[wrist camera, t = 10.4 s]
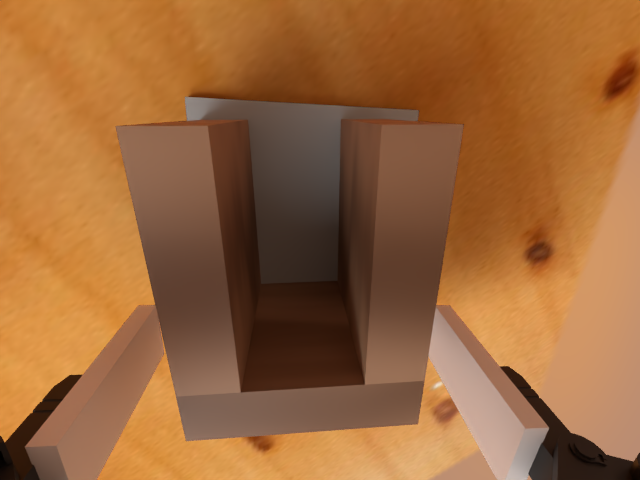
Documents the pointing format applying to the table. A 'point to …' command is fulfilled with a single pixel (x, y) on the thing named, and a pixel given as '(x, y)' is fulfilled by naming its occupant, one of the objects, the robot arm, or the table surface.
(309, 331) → the c link
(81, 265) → the table surface
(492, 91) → the table surface
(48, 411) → the robot arm
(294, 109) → the mat
